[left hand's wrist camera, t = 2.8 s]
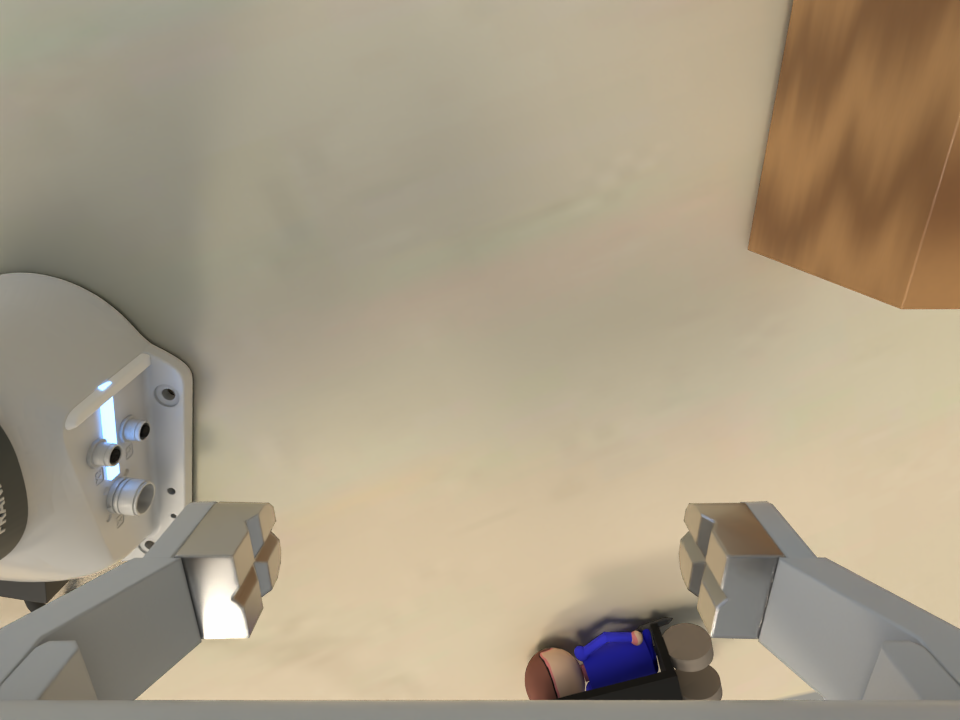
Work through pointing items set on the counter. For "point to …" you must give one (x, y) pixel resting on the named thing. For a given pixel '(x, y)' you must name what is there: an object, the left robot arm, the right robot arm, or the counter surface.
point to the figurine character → (629, 667)
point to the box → (867, 150)
